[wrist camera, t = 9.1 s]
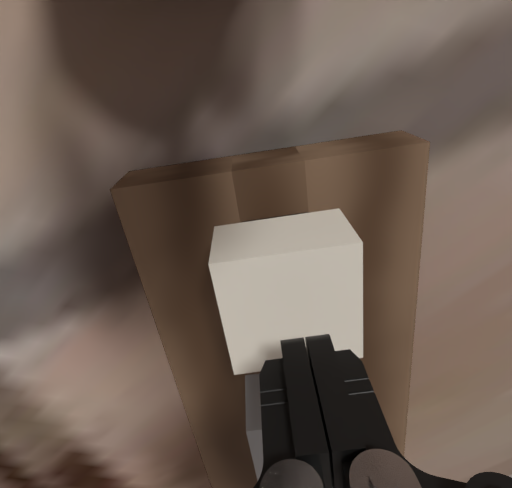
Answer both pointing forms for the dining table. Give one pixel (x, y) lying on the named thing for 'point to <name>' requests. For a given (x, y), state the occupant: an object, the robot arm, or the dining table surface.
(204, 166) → the key panel
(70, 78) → the dining table surface
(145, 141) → the dining table surface
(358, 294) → the cream block
